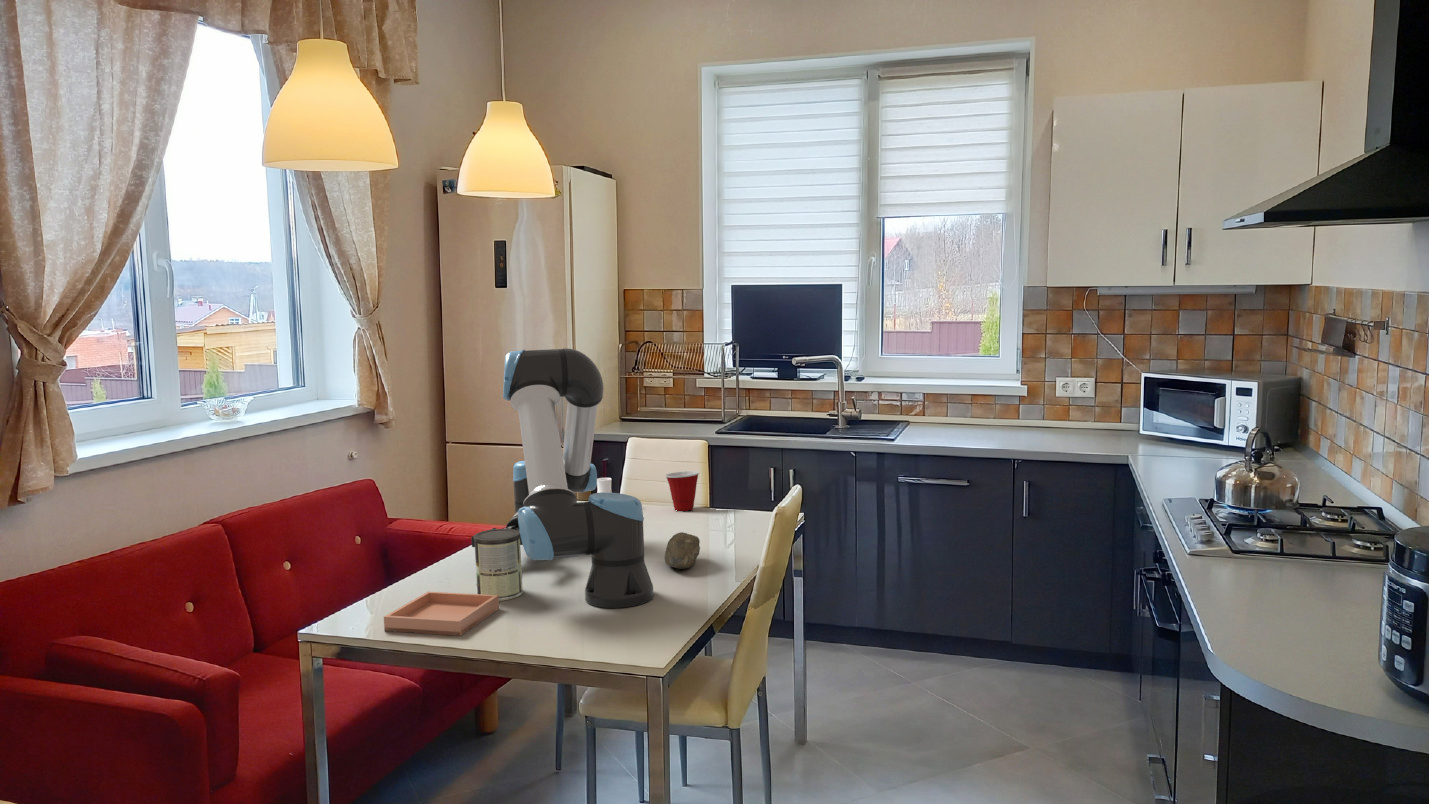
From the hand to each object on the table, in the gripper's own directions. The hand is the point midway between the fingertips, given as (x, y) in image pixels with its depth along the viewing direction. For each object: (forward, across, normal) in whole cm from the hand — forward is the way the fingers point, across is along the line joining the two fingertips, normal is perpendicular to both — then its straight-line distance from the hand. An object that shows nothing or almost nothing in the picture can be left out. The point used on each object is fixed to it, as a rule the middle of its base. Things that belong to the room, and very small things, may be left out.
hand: (506, 549), depth 224 cm
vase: (-76, -16, -8) cm, 78 cm away
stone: (-9, -41, -8) cm, 43 cm away
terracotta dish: (+26, +8, -8) cm, 28 cm away
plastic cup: (-73, -41, -8) cm, 84 cm away
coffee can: (+10, 0, -8) cm, 13 cm away
